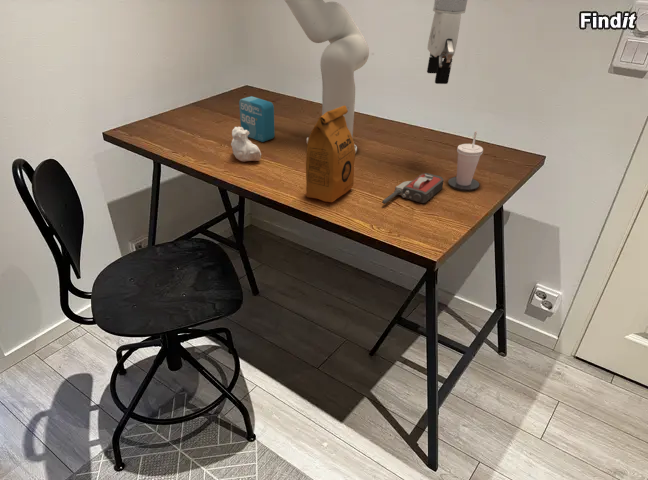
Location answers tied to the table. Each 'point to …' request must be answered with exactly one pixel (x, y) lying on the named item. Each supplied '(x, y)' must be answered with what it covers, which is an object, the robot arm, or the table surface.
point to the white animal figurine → (244, 146)
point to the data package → (257, 118)
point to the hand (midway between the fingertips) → (436, 78)
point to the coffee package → (330, 157)
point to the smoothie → (467, 161)
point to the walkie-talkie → (418, 188)
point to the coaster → (454, 185)
